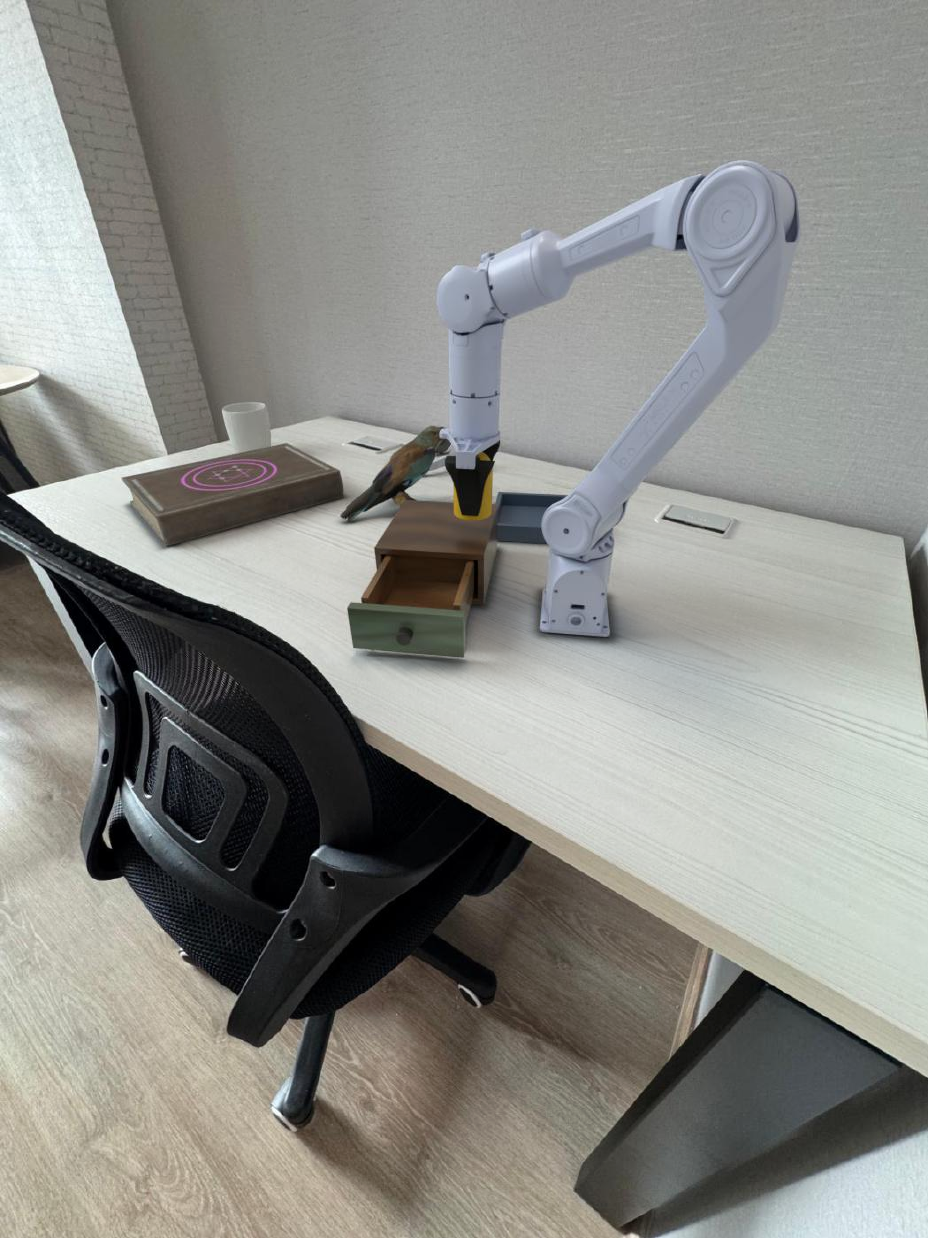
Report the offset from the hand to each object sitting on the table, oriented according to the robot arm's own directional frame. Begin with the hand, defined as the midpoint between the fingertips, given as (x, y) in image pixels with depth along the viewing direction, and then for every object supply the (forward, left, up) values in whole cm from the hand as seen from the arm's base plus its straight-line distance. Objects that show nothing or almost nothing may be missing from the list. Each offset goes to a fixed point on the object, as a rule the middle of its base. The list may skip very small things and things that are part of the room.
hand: (473, 505), depth 71 cm
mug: (+49, +56, -11) cm, 75 cm away
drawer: (-12, +4, -9) cm, 16 cm away
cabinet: (+1, +4, -10) cm, 11 cm away
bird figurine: (+22, +15, -11) cm, 29 cm away
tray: (+19, -9, -10) cm, 23 cm away
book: (+22, +45, -11) cm, 51 cm away
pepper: (0, 0, -1) cm, 1 cm away
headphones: (+46, +13, -11) cm, 49 cm away
